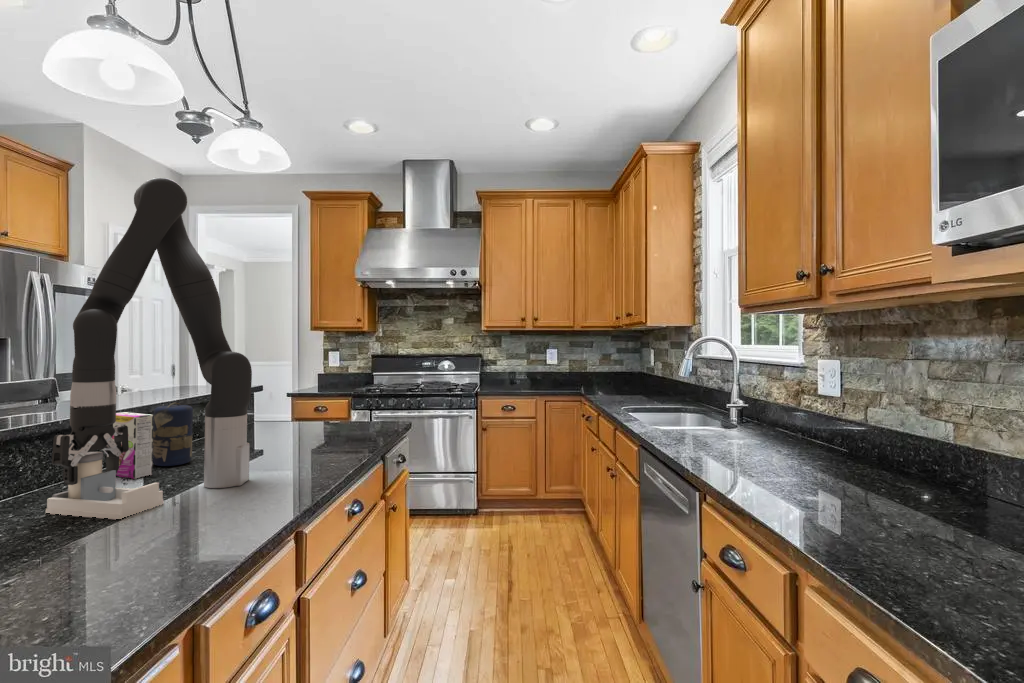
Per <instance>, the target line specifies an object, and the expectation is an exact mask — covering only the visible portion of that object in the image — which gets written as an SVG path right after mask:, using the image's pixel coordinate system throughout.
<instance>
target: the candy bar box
mask: <svg viewBox="0 0 1024 683" xmlns="http://www.w3.org/2000/svg"><path fill="white" fill-rule="evenodd" d="M153 420H154V414H148V413H137V412H131V411H130V412H127V411H124V412H116V422H115V423H114V424H113V427H115V426H116V425H122V426H127V427H128V443H129V450H128V451H127V452H123V453H122V454H121V455H120V456H119V469H118V470H117V473H116V476H119V477H118V478H124V477H125V479H130V478H131V480H132V479H133V480H137V478H138V479H141V478H140V477H142V478H145V476H146V477H150V476H152V475H153ZM112 440H113V441H114V435H113V436H112ZM121 446H122V442H121ZM106 457H109V456H108V455H107V454H106ZM149 475H150V476H149Z"/></svg>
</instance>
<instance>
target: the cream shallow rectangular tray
mask: <svg viewBox="0 0 1024 683" xmlns="http://www.w3.org/2000/svg"><path fill="white" fill-rule="evenodd" d="M163 494H164V491H163V490H160V482H151V483H149V484H146V485H143V486H139V487H136V488H127V487H116V492H115V498H113V499H110V500H107V501H96V500H83V499H69V498H68V490H66V491H62V492H57V493H55V494H54V493H53V494H52V497H49V498H47V499H46V508H45V514H46V513H50V514H49V515H55V514H59V515H58V516H67V515H72V516H71V517H79V516H82V518H92V517H96V518H95V519H104V518H108V519H107V520H116V519H121V520H123V519H122V518H124V517H126V518H128V517H127V516H129V517H131V516H130V515H132V516H134V515H133V514H135V515H137V514H140V513H143V512H145V511H144V510H146V511H148V510H147V509H149V510H151V509H154V508H156V507H155V506H157V507H160V506H163V505H165V502H164V497H163V496H164V495H163ZM162 504H163V505H162ZM159 505H160V506H159ZM153 507H154V508H153ZM150 508H151V509H150ZM142 511H143V512H142ZM139 512H140V513H139ZM136 513H137V514H136ZM60 514H61V515H60ZM124 519H125V518H124Z"/></svg>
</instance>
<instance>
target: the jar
mask: <svg viewBox="0 0 1024 683" xmlns="http://www.w3.org/2000/svg"><path fill="white" fill-rule="evenodd" d="M103 459H104V451H91V452H87V453H86V455H85V456H83V457H82V458H81V459H80V460H79V462H78V463H77V465H76V466H78V482H77V484H74V485H67V491H68V498H69V499H80V497H81V478H84V477H88V476H92V475H96V474H100V473H103Z"/></svg>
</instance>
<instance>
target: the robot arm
mask: <svg viewBox="0 0 1024 683" xmlns="http://www.w3.org/2000/svg"><path fill="white" fill-rule="evenodd" d="M133 204H134V206H135V213H134V216H133V218H132V219H131V223H130V224H129V227H128V228H127V230H126V232H125V233H124V235H123V237H122V238H121V240H120V241H119V242H118V244H117V245H116V246H115V248H114V249H113V251H112V252H111V254H110V255H109V257H108V258H107V260H106V261H105V263H104V265H103V266H102V269H101V270H100V272H99V274H98V276H97V278H96V280H95V281H94V283H93V286H92V289H91V292H90V294H89V296H88V297H87V298H86V300H85V302H84V303H83V305H82V307H81V308H80V310H79V312H78V313H77V315H76V317H75V318H74V321H72V322H73V323H72V329H73V337H74V338H73V339H74V340H73V341H74V342H73V343H74V357H73V361H72V370H71V372H72V374H71V376H72V378H71V382H72V383H71V387H70V395H69V396H70V397H69V399H70V400H69V426H70V428H71V432H70V434H56V435H54V437H53V444H52V452H51V453H52V455H51V465H53V466H61V467H62V468H63V469H62V470H63V471H62V472H63V474H62V477H63V478H62V480H63V482H64V484H66V485H67V486H68V485H74V484H77V482H78V466H76V465H77V463H78V462H79V460H80V459H81V458H82V457H83V456H85V455H86V453H87V452H95V451H96V450H99V451H100V450H101V451H102V452H103V453H104V454H106V458H105V459H106V461H105V472H108V471H112V470H116V473H117V470H118V469H119V456H120V455H121V454H122V453H123V452H127V451H128V450H129V443H128V427H127V426H122V425H116V426H115V427H113V424H114V423H115V422H116V413H117V388H116V387H117V386H116V361H115V354H116V353H115V352H116V346H117V336H118V323H119V321H120V319H121V316H122V314H123V312H124V310H125V308H126V306H127V305H128V304H130V302H131V300H132V299H133V297H134V296H135V294H136V291H137V289H138V287H139V285H140V284H141V282H142V279H143V278H144V276H145V274H146V271H147V270H148V267H149V265H150V263H151V260H152V259H153V257H154V254H155V252H156V250H157V252H156V253H158V258H159V261H160V265H161V268H162V270H163V272H164V276H165V279H166V281H167V285H168V288H170V292H171V295H172V298H173V299H174V302H175V304H176V307H177V308H178V311H179V313H180V315H181V317H182V320H183V322H184V324H185V327H186V329H187V331H188V333H189V335H190V338H191V340H192V343H193V345H194V349H195V354H196V357H197V360H198V361H197V362H198V364H199V365H198V366H199V369H200V372H201V375H202V378H203V379H204V380H205V382H207V383H208V384H209V385H210V397H209V398H210V399H209V401H208V402H207V403H206V405H205V406H204V407H205V409H204V449H203V450H204V456H203V457H204V458H203V462H204V465H203V467H204V468H203V471H204V472H203V486H204V488H208V489H223V488H231V487H240V486H242V485H244V484H245V483H246V482H247V481H249V480H250V442H247V441H248V440H247V439H248V437H247V436H248V434H247V433H248V409H249V405H250V403H251V396H252V382H253V381H252V378H253V376H252V375H253V372H252V371H253V370H252V364H251V362H250V360H249V358H248V357H246V355H244V354H242V353H240V352H237V351H233V350H232V349H231V346H230V344H229V342H228V341H227V338H226V335H225V332H224V330H223V329H224V328H223V324H222V306H221V305H222V304H221V299H220V294H219V292H218V289H217V285H216V284H215V281H214V278H213V275H212V273H211V271H210V269H209V267H208V266H207V264H206V262H205V260H204V259H203V258H202V256H200V254H199V253H198V251H197V250H196V248H195V247H194V246H193V244H192V242H191V239H190V238H189V235H188V233H187V231H186V226H185V223H184V220H183V214H184V212H185V211H186V209H187V206H188V196H187V193H186V191H185V190H184V188H183V187H182V186H181V185H180V184H179V183H178V182H176V181H175V180H173V179H170V178H167V177H154V178H150V179H148V180H146V181H144V182H143V183H142V184H140V186H139V187H138V188H137V189H135V192H134V195H133ZM113 435H114V441H113V440H112V436H113ZM121 442H122V446H121ZM107 455H108V456H109V457H107Z"/></svg>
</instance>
